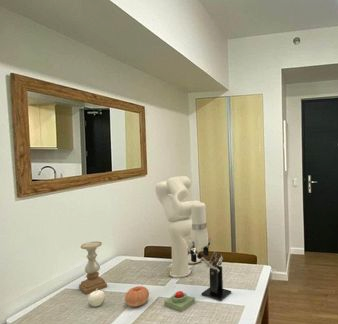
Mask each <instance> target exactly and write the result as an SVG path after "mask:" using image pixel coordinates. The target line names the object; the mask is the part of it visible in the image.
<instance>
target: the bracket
mask: <svg viewBox="0 0 338 324" xmlns="http://www.w3.org/2000/svg"><path fill="white" fill-rule="evenodd" d="M213 267H214V268H215V267H217V268H218V269H219V270H220V271H219V273H218V270H217V269H213V268H210V267H209V287H208V288H207V289H205V290H204V291H202V292H201V296H203V297H205V298H209V299H213V300H216V301H219V302H222V301H223V300H225V299H226V298H227V297H229V295H231V294H232V290H229V289H226V288H224V286H223V284H224V283H223V266H221V265H215V266H213Z"/></svg>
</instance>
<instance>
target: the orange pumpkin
mask: <svg viewBox="0 0 338 324" xmlns="http://www.w3.org/2000/svg"><path fill="white" fill-rule="evenodd" d="M149 296H150V292H149V289H148V288H147V287H145V286H143V285H140V286H134V287H132V288H129V290H128V291H127V292H126V293H125V296H124V302H125V303H126V305H128V306H129V307H133V308H134V307H139V306H142V305H144V304H145V303H147V301H148V299H149Z"/></svg>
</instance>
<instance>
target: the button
mask: <svg viewBox="0 0 338 324" xmlns="http://www.w3.org/2000/svg"><path fill="white" fill-rule="evenodd" d="M183 293H184V291H182V290H179V291H175V293H174V294H175V295H176V298H182V297H183Z"/></svg>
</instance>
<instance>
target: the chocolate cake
mask: <svg viewBox="0 0 338 324" xmlns="http://www.w3.org/2000/svg"><path fill="white" fill-rule="evenodd" d="M223 259H224V258H223V255H222V254H219V253H217V252H216V250H214V251H213V253H212V254H211V257H210V259H209V261H208V262H209V263H210V264H211V265H212V266H213V267H214V266H215V265H217V266H219V265H222V264H221V263H222V262H223Z"/></svg>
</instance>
